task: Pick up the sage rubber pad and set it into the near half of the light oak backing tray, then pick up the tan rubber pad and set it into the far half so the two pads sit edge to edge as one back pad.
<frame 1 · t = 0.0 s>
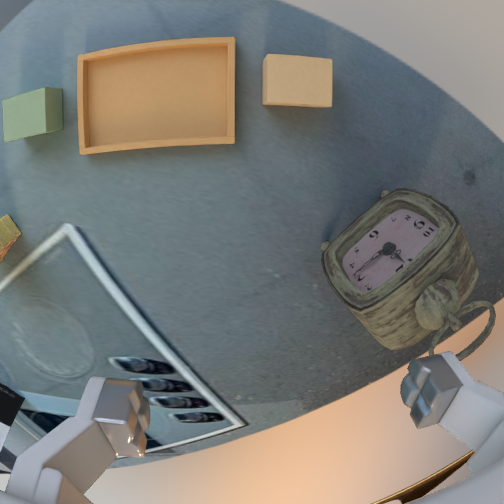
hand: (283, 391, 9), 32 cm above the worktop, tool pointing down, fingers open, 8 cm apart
tabletop clock: (364, 232, 42), on the worktop
backing tray: (154, 94, 33), on the worktop
sage pad: (41, 113, 31), on the worktop
candy box: (3, 238, 38), on the worktop
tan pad: (292, 83, 33), on the worktop
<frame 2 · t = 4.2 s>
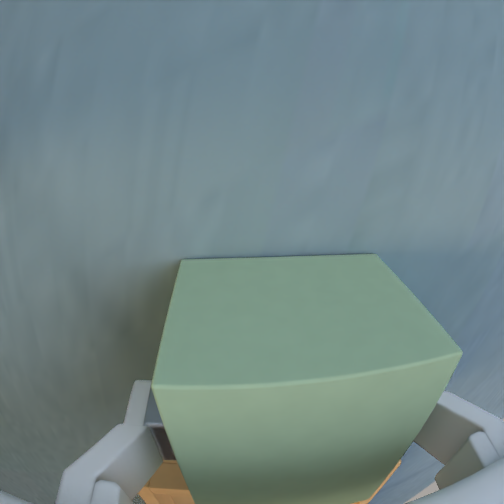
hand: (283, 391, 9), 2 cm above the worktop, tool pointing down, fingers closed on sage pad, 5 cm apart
sage pad: (277, 353, 10), on the worktop, touching gripper
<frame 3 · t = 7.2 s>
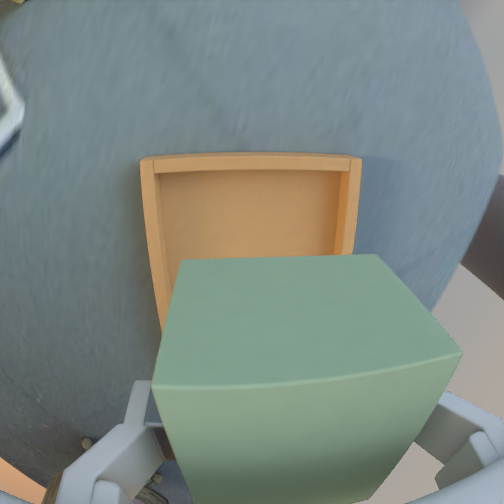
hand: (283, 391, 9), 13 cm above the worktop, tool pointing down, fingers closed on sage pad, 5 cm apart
tabletop clock: (114, 460, 32), on the worktop
backing tray: (250, 288, 22), on the worktop
sage pad: (277, 353, 10), point 12 cm above the worktop, touching gripper
when the fingers open (2 cm above the worktop, at t = 10.2 s): sage pad stays where it is, resting on backing tray.
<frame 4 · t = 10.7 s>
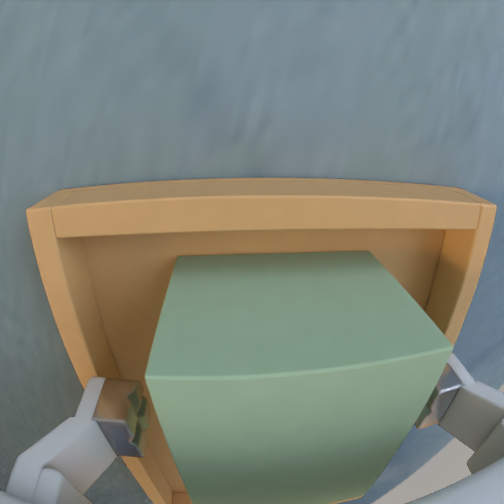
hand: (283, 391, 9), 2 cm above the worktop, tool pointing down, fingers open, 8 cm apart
backing tray: (267, 407, 12), on the worktop
sage pad: (272, 349, 10), resting on backing tray
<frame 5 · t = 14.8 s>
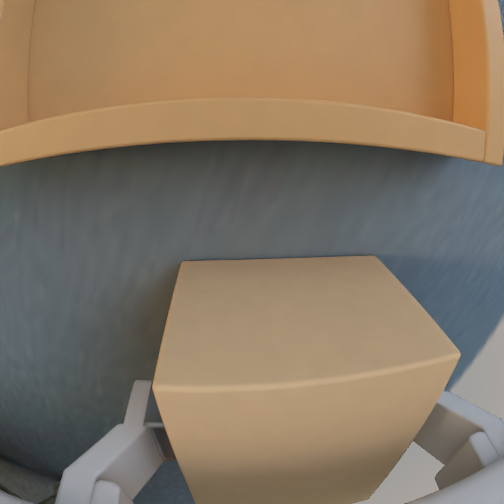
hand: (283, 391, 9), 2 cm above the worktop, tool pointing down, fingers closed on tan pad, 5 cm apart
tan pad: (277, 354, 10), on the worktop, touching gripper
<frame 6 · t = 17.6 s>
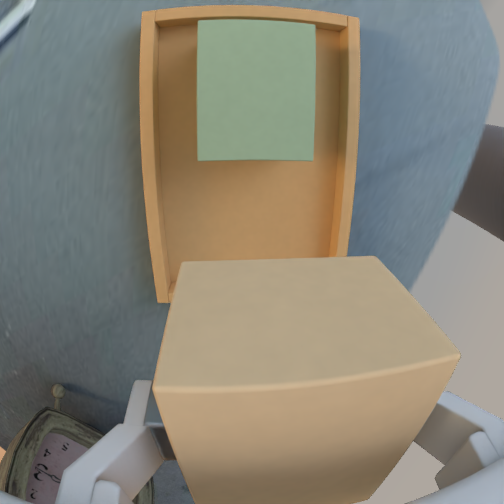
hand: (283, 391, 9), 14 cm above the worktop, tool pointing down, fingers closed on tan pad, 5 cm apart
tabletop clock: (91, 418, 29), on the worktop
backing tray: (249, 154, 19), on the worktop
sage pad: (250, 94, 17), resting on backing tray
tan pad: (277, 354, 10), point 12 cm above the worktop, touching gripper
when the fingers open (2 cm above the worktop, at t = 20.8 s): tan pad stays where it is, resting on backing tray.
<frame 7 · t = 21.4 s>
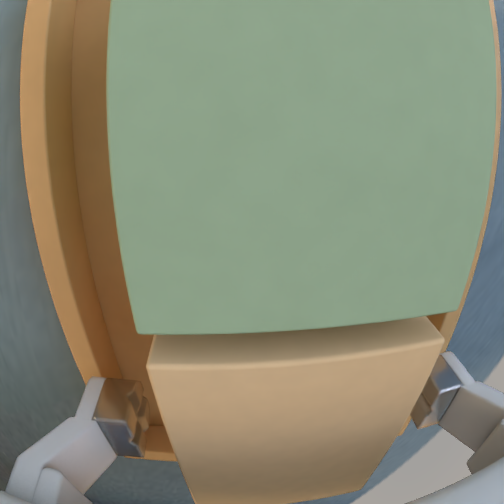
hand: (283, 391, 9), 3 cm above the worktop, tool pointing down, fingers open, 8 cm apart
backing tray: (274, 232, 9), on the worktop
sage pad: (278, 97, 7), resting on backing tray
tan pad: (270, 345, 10), resting on backing tray
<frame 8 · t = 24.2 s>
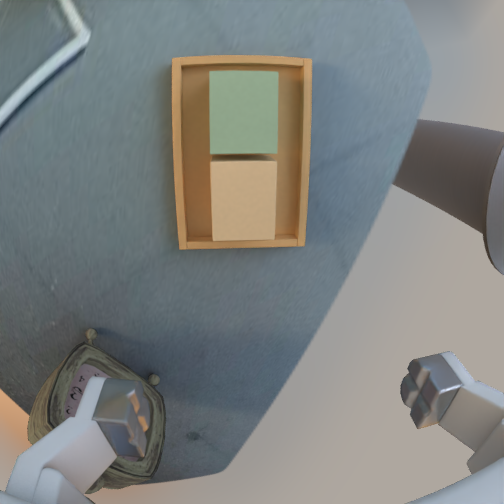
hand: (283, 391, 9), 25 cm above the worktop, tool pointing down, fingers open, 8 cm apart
tabletop clock: (114, 362, 40), on the worktop
backing tray: (241, 151, 30), on the worktop
sage pad: (241, 112, 28), resting on backing tray
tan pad: (241, 190, 31), resting on backing tray
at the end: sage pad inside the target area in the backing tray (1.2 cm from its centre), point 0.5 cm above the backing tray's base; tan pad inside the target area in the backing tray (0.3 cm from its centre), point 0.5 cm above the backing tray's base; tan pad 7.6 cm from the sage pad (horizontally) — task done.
